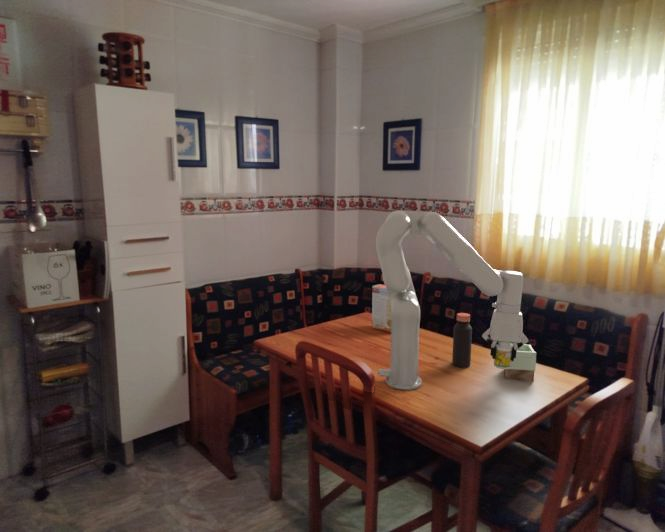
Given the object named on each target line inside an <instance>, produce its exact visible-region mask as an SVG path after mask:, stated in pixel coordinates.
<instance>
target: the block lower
mask: <svg viewBox="0 0 665 532" xmlns="http://www.w3.org/2000/svg"><path fill="white" fill-rule="evenodd" d="M503 372H504V376H505V378H506V380H509V381H519V382H532V383H533V382H535V371H534V370H517V369H503Z"/></svg>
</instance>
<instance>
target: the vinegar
mask: <svg viewBox="0 0 665 532" xmlns="http://www.w3.org/2000/svg"><path fill="white" fill-rule="evenodd" d="M470 322H471V314H470V313H468V312H467V313H466V312H458V313H456V324H455V325H454V326H453V335H452V336H453V338H452V339H453V340H452V357H451V358H452V360H451V362H452V363H451V364H452V365H453V366H454V367H458V368H469V367H470V366H471V360H472V359H471V357H472V356H471V355H472V340H473V336H472V335H473V327H472V326H471V324H470Z"/></svg>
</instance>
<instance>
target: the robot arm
mask: <svg viewBox="0 0 665 532" xmlns="http://www.w3.org/2000/svg"><path fill="white" fill-rule="evenodd" d="M406 236H424V237H425V238H426V239H428V240H429V242H430V243H431V244H432V245H433V246H434V247H435V248H436V249H437V250H438V251H439V252H440V253H441V254H442V255H443V256H445V258H446V259H447V260H448V261H449V262H450V263H451V264H452V265H453V266H454V267H455V268H457V269H458V270H459V271H460V272H462V273H463V274H464V275H465V276H466V277H467V278H468V279H469V280H470V281H471V283H473V284H474V285H475V286H476V287H477V288H478V290H479V291H481V292H482V293H483V294H484V295H486V296H488V297H494V296H497V299H496V301H495V302H491V303H492V304H491V307H492V308H495V309H493V312H492V316H491V320H490V326H489V328H487V330H485V331H484V332H483V333H482V334H481V337H482V338H483V339H484V340H485V341H486V342H487V343H488V344H489V346H490V352H489V354H490V356H491V358H492V359H493V360H494V359H495V354H496V345H497V343H498V341H502V342H511V343H510V344H513V347H512V355H511V361H514V358H516V352H517V350H518V349H519V348H520V347H521V346H523V345H524V344H527V343H528V342H529V338H527V336H526V335H525V334H524V331H523V327H524V325H523V324H524V320H523V317H524V316H523V313H522V311H521V306H522V305H521V304H522V296H523V287H524V286H523V285H524V275H523V273H522V272H519V271H517V270H498V269H493V267H491V265H490V264H488V262H486V261H485V259H484V258H483V257H482V256H480V254H479V253H478V252H477V250H475V248H474V247H473V246H472V245H471V244H470V243H469V242H468V241H467V240H466V239H465V238H464V237H463V236H462V235H461V233H459V232H458V230H457V229H455V227H453V226H452V224H451V223H449V221H448V220H447V219H446V218H445V217H444V216H442V215H441V214H439V213H438V212H435V211H421V210H420V211H418V210H394V211H391V212H390V213H389V214H388V215H387V217H386V219H385V221H384V223H382V225H381V226H380V227H379V230H378V232H377V234H376V238H375V249H376V253H377V258H378V262H379V265H380V269H381V273H382V281H383V285H385V286H386V288H387V292H388V295H389V299H390V302H391V311H392V312H391V316H392V320H391V332H390V366H389V368H386V369H384V368H377V369H378V370H377V374H378V375H379V376H380V377H385V383H386V384H387V385H388V386H389V387H391V388H393V389H396V390H403V391H410V390H417V389H418V388H420V387H421V386H422V385H423V380H422V378H421V377H420V376H419V375H418V373H419V372H418V371H419V346H420V344H419V343H420V341H419V340H420V339H419V337H420V322H421V306H420V304H419V300H418V297H417V294H416V290H415V287H414V283H413V279H412V275H411V271H410V269H409V267H408V266H407V262H406V258H405V254H404V251H403V247H402V243H403V239H404V238H405V237H406Z"/></svg>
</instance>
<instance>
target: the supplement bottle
mask: <svg viewBox="0 0 665 532" xmlns="http://www.w3.org/2000/svg"><path fill="white" fill-rule="evenodd" d="M497 343H498V344H496V345H495V346H496V354H495V359H493V365H494V367H495V368H497V369H500V370H504V369H509V368H510V365H511V355H512V347H511V346H509V345H510V344H512V343H511V342H502V341H497Z"/></svg>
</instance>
